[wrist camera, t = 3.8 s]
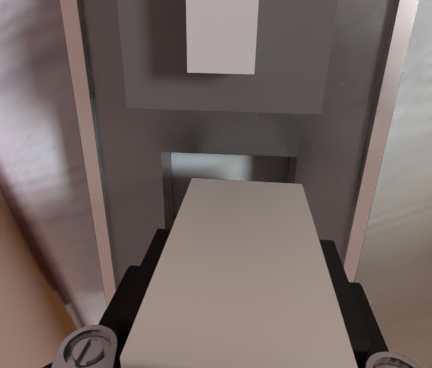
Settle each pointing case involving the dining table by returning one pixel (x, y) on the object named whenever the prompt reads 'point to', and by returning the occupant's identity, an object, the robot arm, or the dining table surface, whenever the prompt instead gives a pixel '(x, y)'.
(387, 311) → the dining table surface
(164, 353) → the white block orange tab
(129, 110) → the panel
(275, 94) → the matte charcoal box
